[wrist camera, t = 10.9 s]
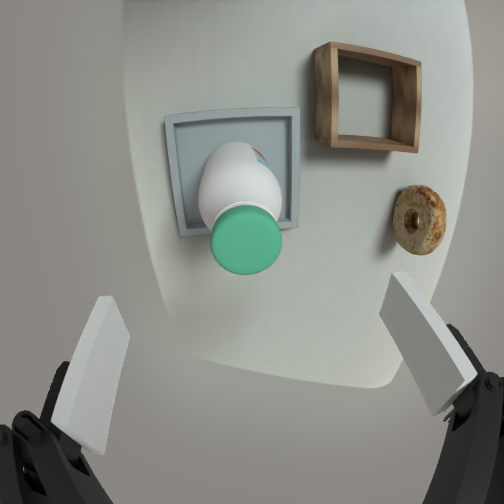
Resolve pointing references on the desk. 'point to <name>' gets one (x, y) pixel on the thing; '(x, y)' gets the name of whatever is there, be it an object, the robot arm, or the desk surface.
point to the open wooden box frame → (403, 98)
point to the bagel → (431, 220)
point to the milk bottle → (241, 208)
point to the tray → (223, 131)
